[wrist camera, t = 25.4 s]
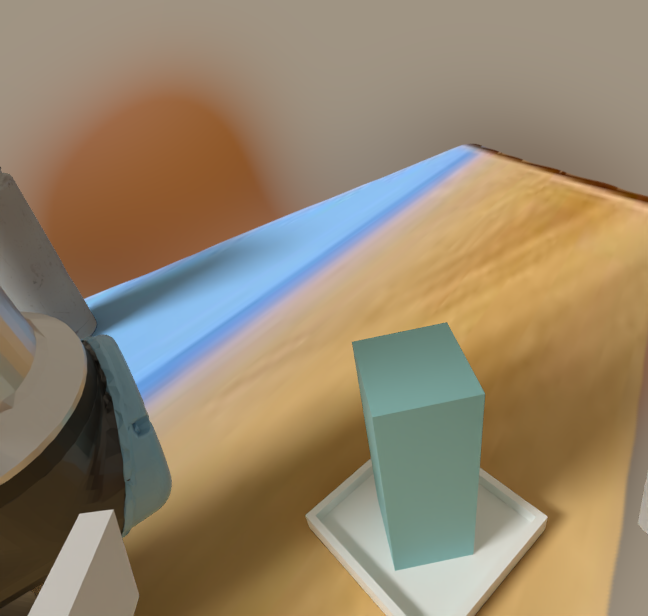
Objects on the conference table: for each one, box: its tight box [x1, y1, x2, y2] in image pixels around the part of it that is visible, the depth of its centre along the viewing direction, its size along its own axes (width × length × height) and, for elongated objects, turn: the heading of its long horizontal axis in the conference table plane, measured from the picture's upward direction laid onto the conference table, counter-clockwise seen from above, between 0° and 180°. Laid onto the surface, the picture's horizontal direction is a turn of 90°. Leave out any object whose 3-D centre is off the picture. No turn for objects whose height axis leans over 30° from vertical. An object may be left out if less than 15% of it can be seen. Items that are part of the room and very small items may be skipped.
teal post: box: [352, 322, 485, 571], centre depth 33 cm, size 6×6×18 cm
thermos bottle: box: [0, 167, 97, 340], centre depth 60 cm, size 8×8×28 cm
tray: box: [305, 458, 548, 616], centre depth 38 cm, size 13×13×2 cm
